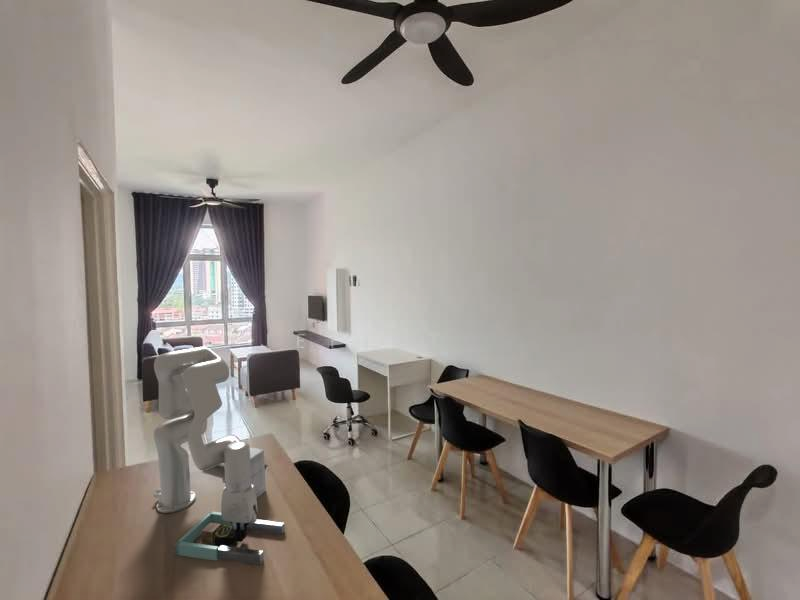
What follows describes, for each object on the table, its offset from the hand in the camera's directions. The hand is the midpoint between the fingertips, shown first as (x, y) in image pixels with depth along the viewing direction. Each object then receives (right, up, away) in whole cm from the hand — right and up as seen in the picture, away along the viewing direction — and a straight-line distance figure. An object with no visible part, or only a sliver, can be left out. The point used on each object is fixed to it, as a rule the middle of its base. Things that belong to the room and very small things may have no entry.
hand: (241, 538), depth 118 cm
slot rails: (+4, -2, 0) cm, 4 cm away
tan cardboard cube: (-11, -2, +2) cm, 11 cm away
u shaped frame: (-10, -2, +2) cm, 10 cm away
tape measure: (-5, -2, +1) cm, 5 cm away
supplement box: (-8, 0, +26) cm, 28 cm away
